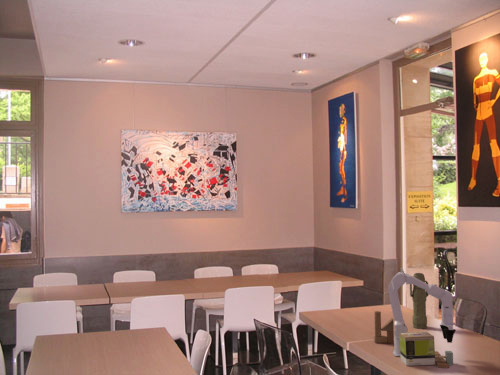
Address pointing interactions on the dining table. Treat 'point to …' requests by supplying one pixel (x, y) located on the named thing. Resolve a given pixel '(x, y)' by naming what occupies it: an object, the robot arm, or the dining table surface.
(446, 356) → the grey-green block
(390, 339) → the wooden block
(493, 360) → the dining table surface
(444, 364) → the walnut board
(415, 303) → the thermos
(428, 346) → the tea box
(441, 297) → the robot arm
